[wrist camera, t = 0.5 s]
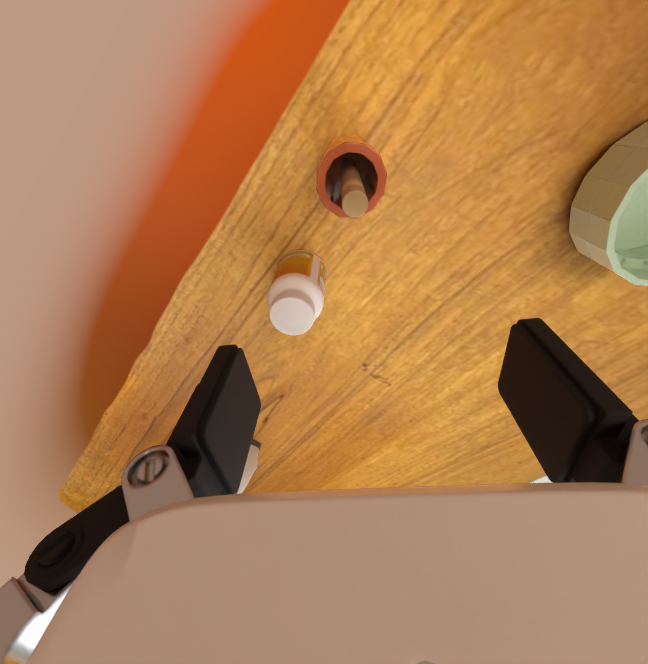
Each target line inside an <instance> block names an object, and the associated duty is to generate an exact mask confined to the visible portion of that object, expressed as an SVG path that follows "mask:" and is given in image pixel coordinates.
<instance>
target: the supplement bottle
mask: <svg viewBox="0 0 648 664" xmlns="http://www.w3.org/2000/svg"><path fill="white" fill-rule="evenodd" d="M325 280H326V271H325V266H324V264H323V262H322V261H321V259H320V258H319V257H318V256H317V255H315V254H314V253H312V252H310V251H306V250H295V251H292V252H290V253H288V254H286V255H285V256H284V257H283V258H282V260H281V261H280V263H279V265H278V268H277V270H276V273H275V276H274V278H273V281H272V283H271V286H270V288H269V292H268V297H267V300H268V306H269V308H270V312H269V317H270V320H271V323H272V324H273V326H274V327H275V328H276V329H277V330H278V331H280V332H282V333H284V334H288V335H299V334H303V333H305V332H306V331H308V330H309V329H310V328H311V326H312V325H313V322H314V320H315V319H316V318H317V317H318V316H319V314H320V313H321V310H322V308H323V303H324V292H325Z"/></svg>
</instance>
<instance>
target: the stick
mask: <svg viewBox="0 0 648 664" xmlns="http://www.w3.org/2000/svg"><path fill="white" fill-rule="evenodd" d="M341 194H342V209H343V211H344V213H345V214H346V215H347V216H349V217H353V218H356V217H360V216H362V215H363V214H364V213H365V212H366V210H367V208H368V198H367V195H366V192H365V189H364V186H363V183H362V181H361V178H360V175H359V172H358V169H357V166H356V163H355V161H354V159H352V158H349V157H348V158H345V159H344V160H343V161H342V163H341Z"/></svg>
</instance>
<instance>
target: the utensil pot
mask: <svg viewBox="0 0 648 664" xmlns="http://www.w3.org/2000/svg"><path fill="white" fill-rule="evenodd" d="M348 157H349V158H352V159H354V161H355V163H356V166H357V169H358V172H359V175H360V178H361V181H362V183H363V186H364V189H365V192H366V195H367V198H368V208H367V210H366V212H365V213H364V214H366V213H368V212H370V211H372V210H373V209H374V208H375V206H376V205H377V204H378V202H379V201H380V199H381V198H382V197H383V195H384V191H385V185H386V178H387V173H386V170H385V168H384V165H383V162H382V159H381V156H380V155H379V154H378V153H377V152H376V151H375V150H374V149H373V148H372V147H371V146H370V145H369V144H368V143H367V142H365V141H364V140H363V139H362V138H361V137H359V136H354V135H343V136H341V137H339V138H337V139H335V140H334V141H332V142H331V143H330V144H329V146H328V148H327V149H326V151H325V153H324V155H323V157H322V159H321V162H320V165H319V167H318V170H317V192H318V194H319V196H320V198H321V200H322V203H323V205H324V206H325V207H326V208H327V209H328V210H330V211H331V212H333V213H334V214H335V215H337V216H339V217H346V218H353V217H349V216H347V215H346V214H345V213H344V211H343V209H342V194H341V163H342V161H343V160H344V159H345V158H348ZM364 214H363V215H364ZM356 218H358V217H356Z"/></svg>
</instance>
